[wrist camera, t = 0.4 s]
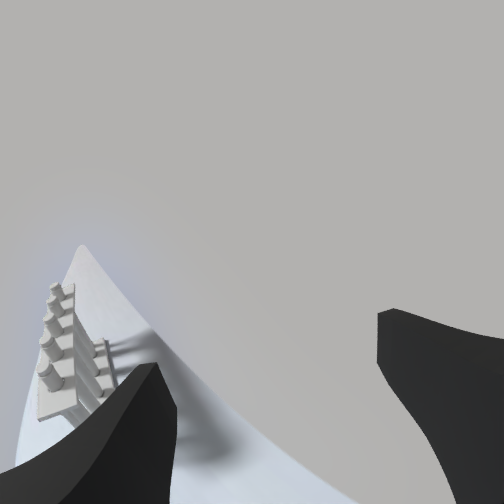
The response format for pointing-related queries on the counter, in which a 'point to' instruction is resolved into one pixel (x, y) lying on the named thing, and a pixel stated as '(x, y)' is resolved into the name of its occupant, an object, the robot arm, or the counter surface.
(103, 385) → the test tube rack
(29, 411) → the counter surface
